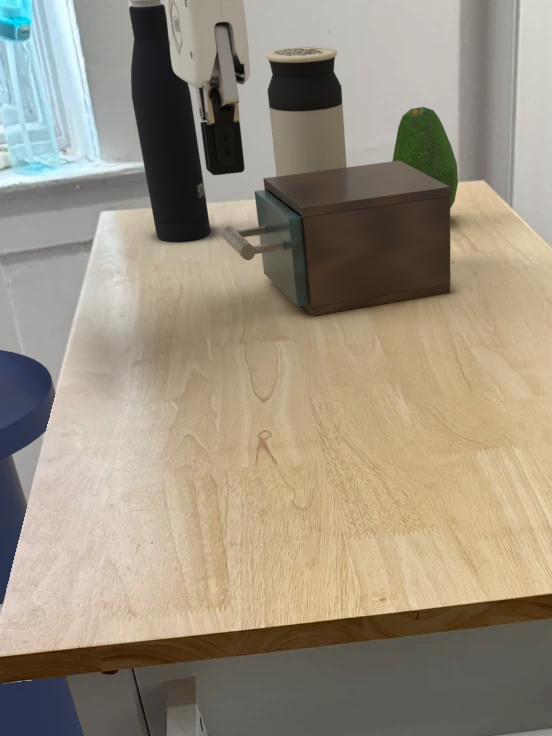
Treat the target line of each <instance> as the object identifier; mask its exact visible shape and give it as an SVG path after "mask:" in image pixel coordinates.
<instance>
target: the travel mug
mask: <svg viewBox="0 0 552 736" xmlns="http://www.w3.org/2000/svg"><path fill="white" fill-rule="evenodd" d="M337 55H338V51H337V50H336V49H335V48H332V47H326V46H293V47H285V48H279V49H275V50H270V51H268V52H267V53H266V55H265V57H266V60H268V63H269V66H270V71H271V78H270V81H269V84H268V87H267V100H268V107H269V117H270V119H269V120H270V126H271V128H270V129H271V136H272V147H273V155H274V156H273V158H274V165H275V174H276V176H275V177H278V176H285V175H293V174H300V173H308V172H316V171H323V170H331V169H339V168H346V167H348V166H347V153H346V152H347V151H346V136H345V121H344V105H343V90H342V84H341V82H340V81H339V78H338V77H337V74H336V73H335V60H336V57H337Z"/></svg>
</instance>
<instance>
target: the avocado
mask: <svg viewBox="0 0 552 736" xmlns="http://www.w3.org/2000/svg"><path fill="white" fill-rule="evenodd" d="M392 155H393V156H392V161H401V162H403V163H405V164H407V165H409V166H411V167H413V168H415V169H417V170H419V171H421V172H422V173H424V174H426V175H428V176H430V177H432V178H434V179H436V180H438V181H440V182H442V183H443V184H445V185H447V186H449V187H450V210H451V209H452V207H453V205H454V203H455V201H456V197H457V190H458V185H459V175H458V174H459V173H458V162H457V160H456V157H455V153H454V150H453V147H452V144H451V142H450V139H449V137H448V134H447V132H446V130H445V127H444V125H443V123H442V121H441V119H440V117H439V116H438V114H437V113H436V112H435V110H434V109H431V108H428V107H425V106H419V107H414V108H410V109H409V110H408V111H406V113H404V114H403V115H402V116H401V119H400V122H399V124H398V128H397V133H396V139H395V145H394V148H393V154H392Z"/></svg>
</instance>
